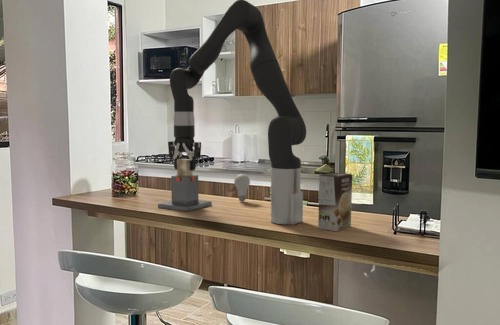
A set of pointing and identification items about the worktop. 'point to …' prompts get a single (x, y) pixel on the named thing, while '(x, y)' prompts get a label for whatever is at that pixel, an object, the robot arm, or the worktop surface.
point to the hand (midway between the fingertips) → (184, 169)
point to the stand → (184, 195)
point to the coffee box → (335, 201)
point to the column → (183, 168)
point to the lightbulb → (242, 185)
